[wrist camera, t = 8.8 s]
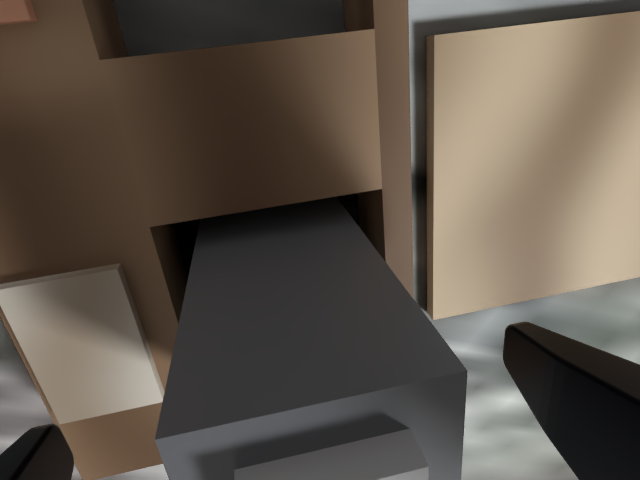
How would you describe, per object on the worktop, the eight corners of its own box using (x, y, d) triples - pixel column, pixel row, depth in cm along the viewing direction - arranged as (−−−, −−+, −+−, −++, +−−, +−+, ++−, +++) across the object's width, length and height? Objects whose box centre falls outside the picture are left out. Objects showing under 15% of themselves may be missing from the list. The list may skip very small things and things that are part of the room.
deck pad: (710, 2, 13) (728, 0, 12) (646, 267, 16) (657, 272, 16) (426, 35, 11) (434, 35, 11) (427, 312, 15) (433, 320, 15)
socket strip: (352, -383, 8) (406, -584, 6) (388, 354, 16) (419, 411, 13) (-240, -394, 7) (-512, -655, 4) (107, 415, 14) (80, 491, 12)
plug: (334, 194, 13) (492, 404, 5) (344, 305, 14) (474, 593, 7) (201, 215, 12) (144, 486, 4) (226, 328, 14) (218, 669, 6)
